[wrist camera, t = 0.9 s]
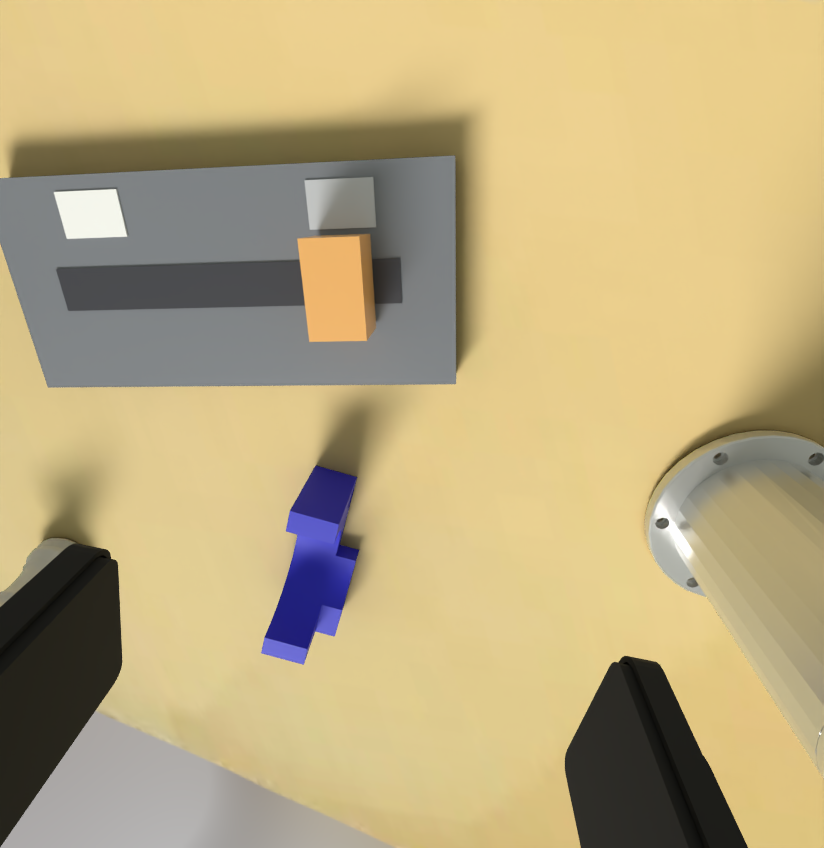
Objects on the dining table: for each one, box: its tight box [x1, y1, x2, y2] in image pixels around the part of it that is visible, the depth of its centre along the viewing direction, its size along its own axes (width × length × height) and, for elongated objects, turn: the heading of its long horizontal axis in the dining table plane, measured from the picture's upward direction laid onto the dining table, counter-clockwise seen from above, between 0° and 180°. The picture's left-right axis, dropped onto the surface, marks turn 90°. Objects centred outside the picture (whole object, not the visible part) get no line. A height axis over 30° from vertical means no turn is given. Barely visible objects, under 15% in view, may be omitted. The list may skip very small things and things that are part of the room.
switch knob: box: [297, 234, 376, 342], centre depth 26 cm, size 3×5×3 cm, turn 2°
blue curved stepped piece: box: [261, 466, 359, 665], centre depth 35 cm, size 12×4×6 cm, turn 165°
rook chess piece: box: [0, 538, 78, 607], centre depth 37 cm, size 4×4×8 cm
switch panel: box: [0, 156, 456, 387], centre depth 30 cm, size 26×12×2 cm, turn 92°
